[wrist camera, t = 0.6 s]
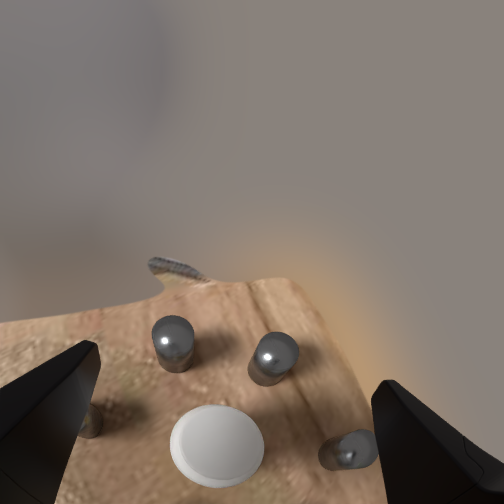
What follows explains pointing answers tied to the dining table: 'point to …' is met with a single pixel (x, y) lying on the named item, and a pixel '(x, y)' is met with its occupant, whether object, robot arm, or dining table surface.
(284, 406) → the dining table surface
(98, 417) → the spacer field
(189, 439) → the supplement bottle
